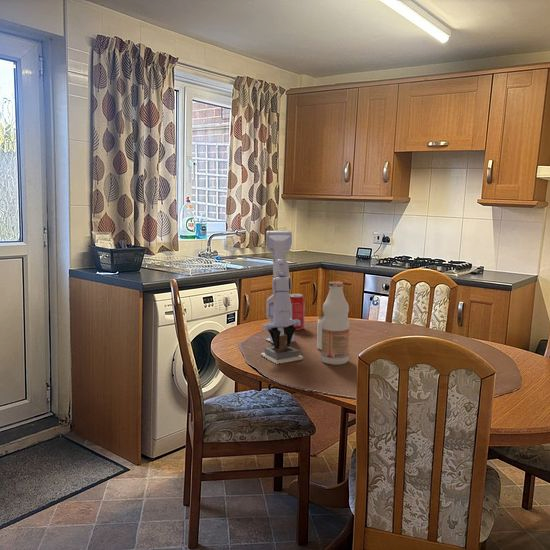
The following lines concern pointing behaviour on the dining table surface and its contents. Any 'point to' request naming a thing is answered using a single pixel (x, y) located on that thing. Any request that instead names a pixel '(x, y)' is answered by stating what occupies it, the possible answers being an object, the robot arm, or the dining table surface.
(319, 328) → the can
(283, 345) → the peg
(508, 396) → the dining table surface
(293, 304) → the soda can
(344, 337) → the fruit juice
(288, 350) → the socket block
